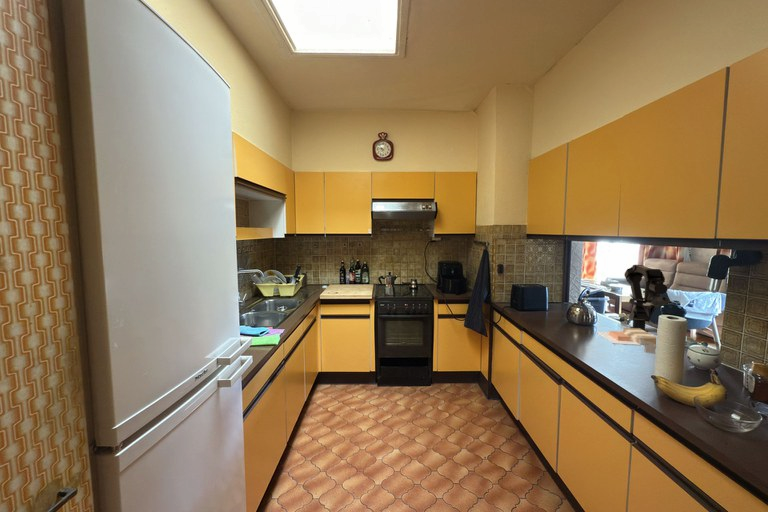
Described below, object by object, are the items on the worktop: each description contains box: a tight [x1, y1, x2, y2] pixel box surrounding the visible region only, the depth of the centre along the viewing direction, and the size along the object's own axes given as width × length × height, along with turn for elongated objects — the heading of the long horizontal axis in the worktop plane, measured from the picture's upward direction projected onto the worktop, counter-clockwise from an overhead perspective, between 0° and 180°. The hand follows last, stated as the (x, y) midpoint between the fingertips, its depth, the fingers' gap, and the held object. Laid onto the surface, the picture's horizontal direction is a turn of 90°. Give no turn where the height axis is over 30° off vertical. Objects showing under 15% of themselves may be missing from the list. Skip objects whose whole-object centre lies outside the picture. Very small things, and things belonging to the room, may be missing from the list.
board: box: [622, 327, 657, 346], centre depth 169 cm, size 16×9×4 cm, turn 169°
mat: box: [596, 331, 641, 346], centre depth 171 cm, size 18×13×1 cm
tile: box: [608, 330, 630, 341], centre depth 171 cm, size 9×6×2 cm, turn 169°
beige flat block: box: [638, 336, 657, 354], centre depth 152 cm, size 7×2×8 cm, turn 67°
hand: (649, 316), depth 172 cm, fingers closed
